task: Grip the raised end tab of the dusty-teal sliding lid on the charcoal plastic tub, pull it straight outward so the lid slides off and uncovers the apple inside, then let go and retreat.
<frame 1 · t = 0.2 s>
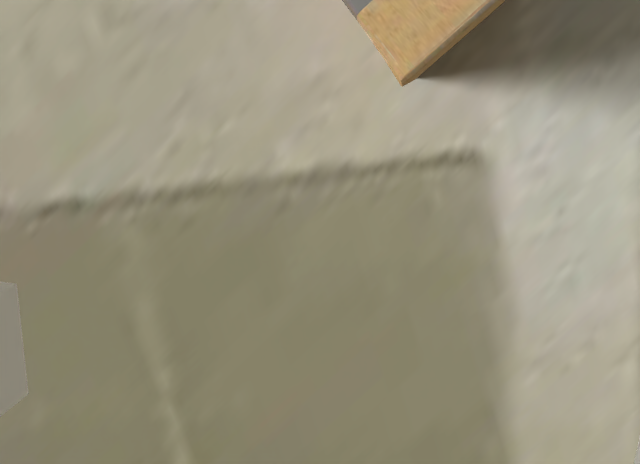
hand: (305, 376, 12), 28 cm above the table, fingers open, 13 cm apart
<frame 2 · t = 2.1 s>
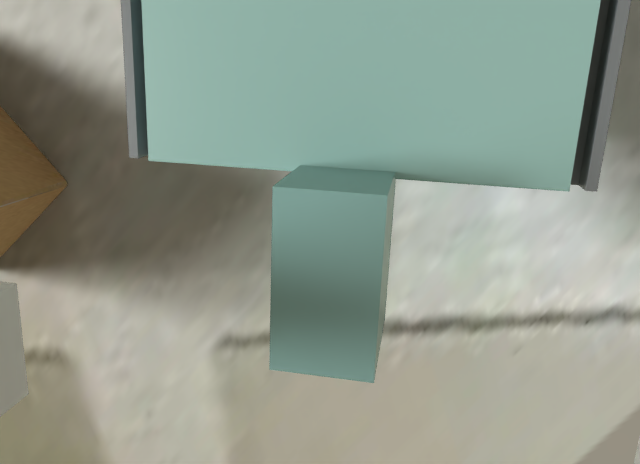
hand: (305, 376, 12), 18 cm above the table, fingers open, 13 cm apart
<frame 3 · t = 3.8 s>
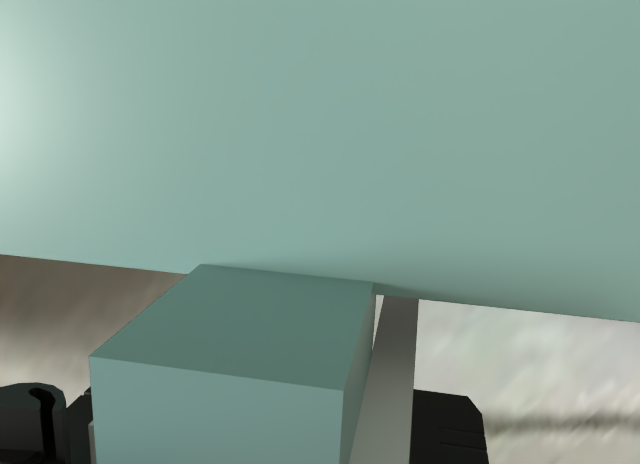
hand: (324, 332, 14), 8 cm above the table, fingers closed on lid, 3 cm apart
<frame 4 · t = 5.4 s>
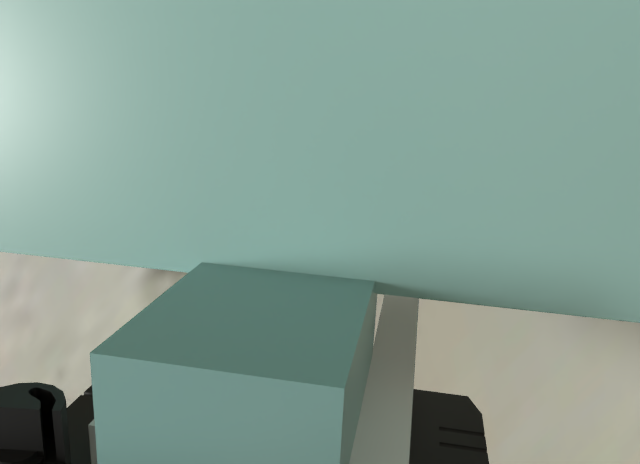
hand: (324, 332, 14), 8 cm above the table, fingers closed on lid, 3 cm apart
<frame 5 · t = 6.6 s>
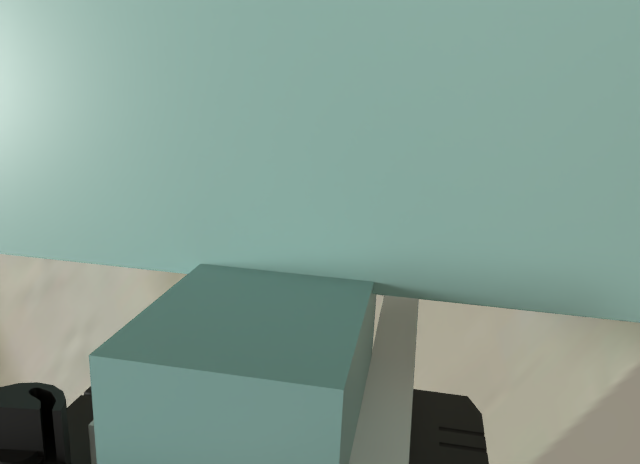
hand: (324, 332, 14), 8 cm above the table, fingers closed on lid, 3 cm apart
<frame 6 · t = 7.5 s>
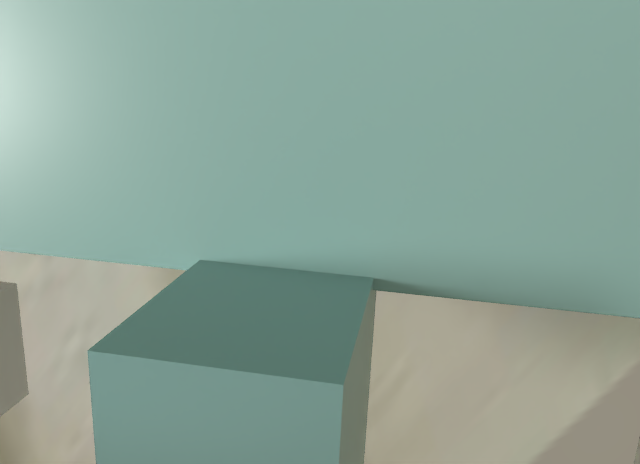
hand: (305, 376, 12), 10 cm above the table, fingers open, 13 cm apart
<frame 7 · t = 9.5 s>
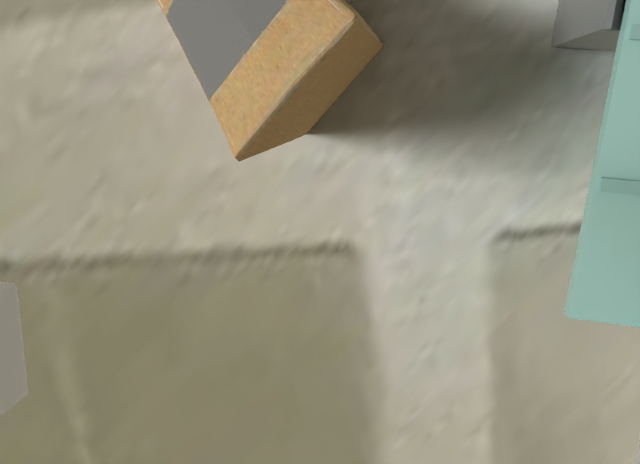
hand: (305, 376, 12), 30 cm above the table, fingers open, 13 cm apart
sandwich container: (264, 14, 40), on the table
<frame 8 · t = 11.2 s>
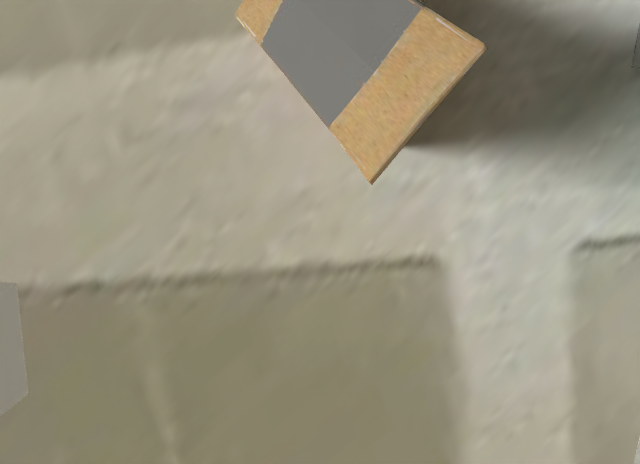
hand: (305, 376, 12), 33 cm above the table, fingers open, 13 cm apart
sandwich container: (347, 34, 42), on the table
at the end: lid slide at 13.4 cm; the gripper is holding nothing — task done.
